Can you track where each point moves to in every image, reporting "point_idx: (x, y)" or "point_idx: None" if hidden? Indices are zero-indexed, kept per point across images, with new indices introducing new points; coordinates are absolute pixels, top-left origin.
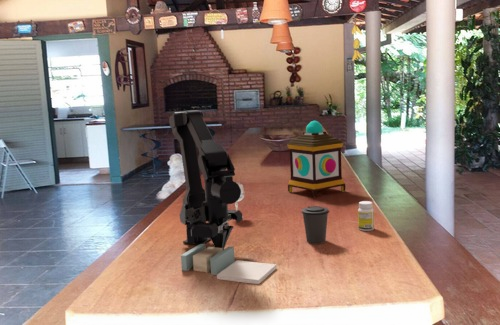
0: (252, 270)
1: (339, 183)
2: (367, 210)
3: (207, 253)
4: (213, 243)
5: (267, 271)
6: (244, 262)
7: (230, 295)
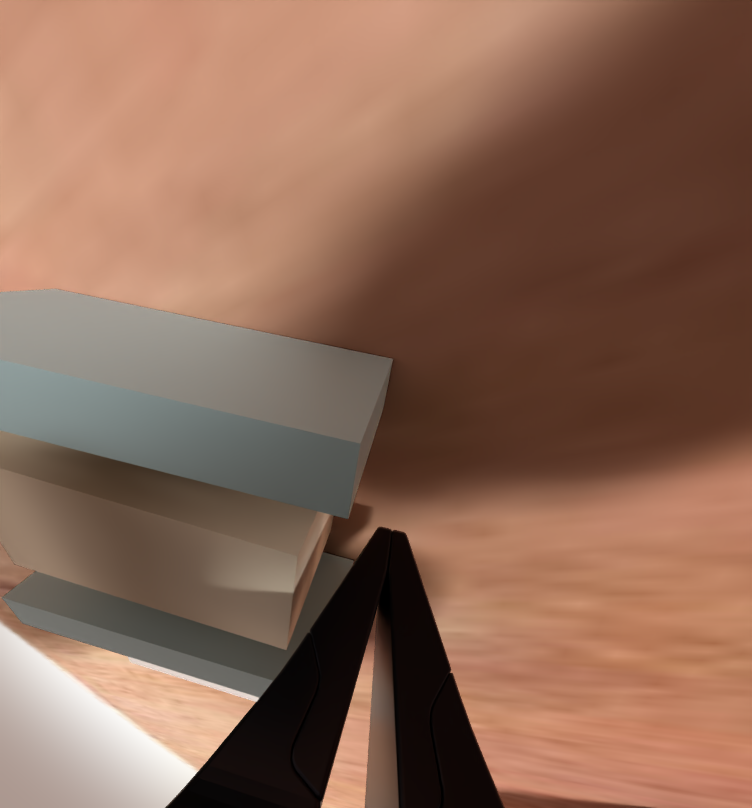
0: None
1: None
2: None
3: (95, 562)
4: (308, 633)
5: (215, 688)
6: None
7: (20, 581)
